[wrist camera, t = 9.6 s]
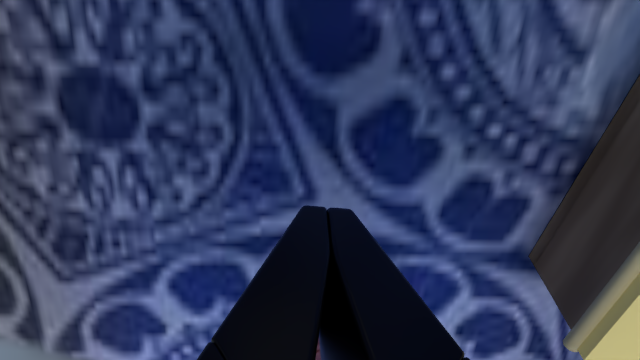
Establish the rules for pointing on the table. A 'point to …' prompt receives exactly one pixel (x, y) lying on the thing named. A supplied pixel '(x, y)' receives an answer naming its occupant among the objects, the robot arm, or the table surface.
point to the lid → (612, 318)
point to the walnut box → (595, 218)
